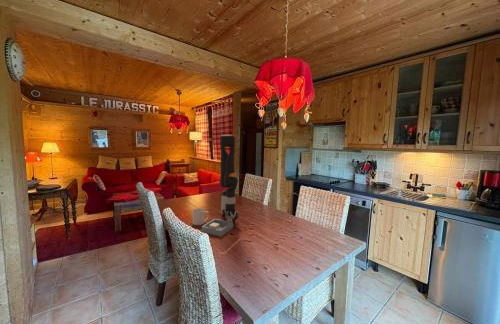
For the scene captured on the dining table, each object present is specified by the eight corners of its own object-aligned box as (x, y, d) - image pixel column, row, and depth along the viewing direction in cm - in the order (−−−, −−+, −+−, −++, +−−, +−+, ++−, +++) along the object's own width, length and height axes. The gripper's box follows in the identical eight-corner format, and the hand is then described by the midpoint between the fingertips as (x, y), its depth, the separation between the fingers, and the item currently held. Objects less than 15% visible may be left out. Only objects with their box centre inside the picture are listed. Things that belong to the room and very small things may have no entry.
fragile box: (213, 229, 148) (213, 223, 148) (219, 231, 146) (219, 224, 146) (209, 232, 143) (209, 225, 143) (215, 234, 142) (215, 227, 141)
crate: (215, 224, 160) (215, 218, 159) (233, 228, 154) (233, 222, 153) (201, 233, 144) (201, 226, 144) (221, 238, 138) (221, 230, 138)
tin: (228, 223, 163) (229, 213, 162) (234, 224, 161) (234, 214, 160) (225, 225, 158) (225, 215, 158) (231, 227, 156) (231, 216, 155)
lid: (213, 223, 148) (213, 222, 148) (219, 224, 146) (219, 223, 146) (209, 225, 143) (209, 225, 143) (215, 227, 141) (215, 226, 141)
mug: (192, 226, 155) (192, 212, 154) (192, 222, 164) (192, 208, 163) (208, 225, 158) (208, 211, 157) (208, 221, 167) (208, 207, 166)
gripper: (241, 202, 159) (240, 223, 160) (224, 199, 164) (224, 220, 166) (236, 204, 152) (236, 227, 153) (219, 202, 157) (219, 223, 159)
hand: (230, 223), depth 160 cm, fingers closed on tin, 5 cm apart
